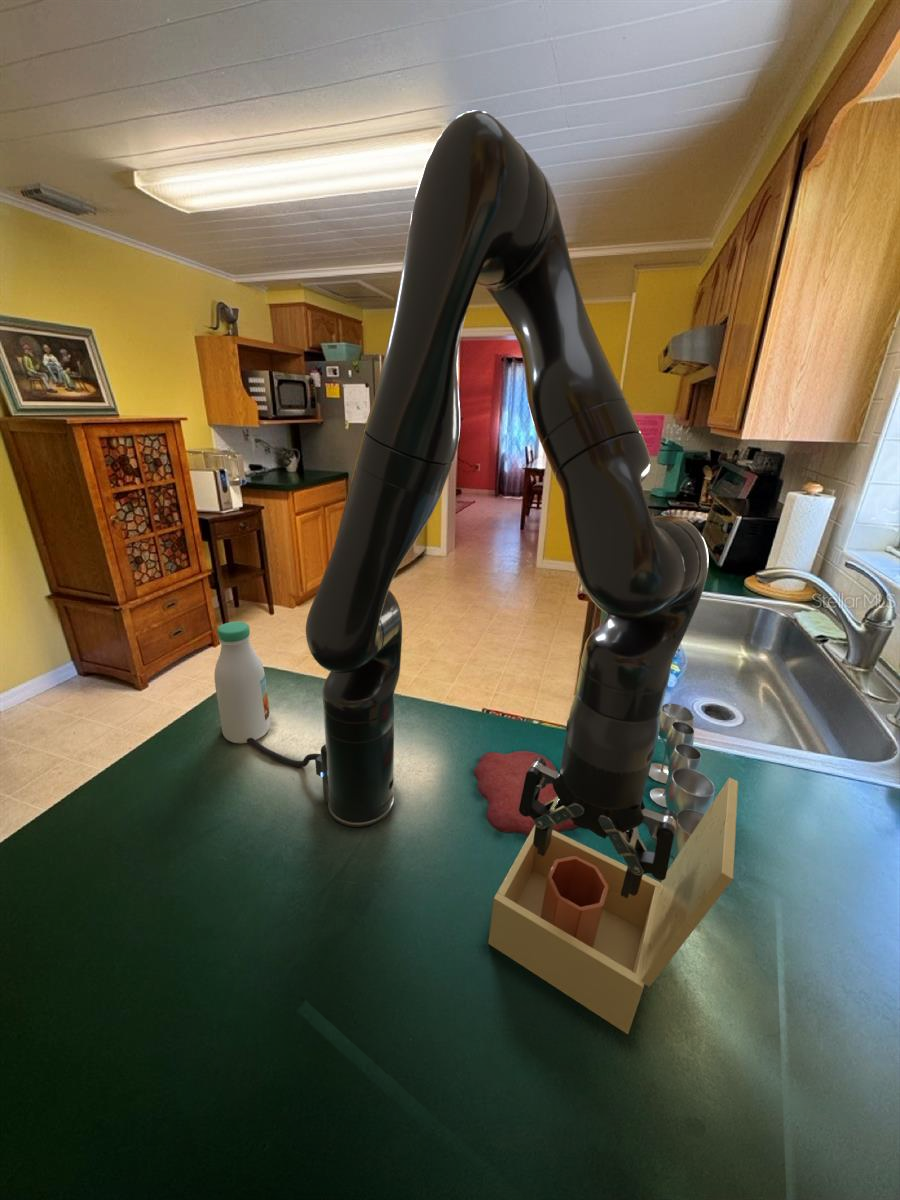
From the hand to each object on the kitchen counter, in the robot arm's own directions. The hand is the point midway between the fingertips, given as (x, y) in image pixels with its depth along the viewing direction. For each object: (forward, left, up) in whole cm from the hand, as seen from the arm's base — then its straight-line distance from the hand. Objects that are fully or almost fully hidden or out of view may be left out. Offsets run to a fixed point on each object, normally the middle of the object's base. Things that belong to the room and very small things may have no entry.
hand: (582, 868), depth 48 cm
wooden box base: (0, 0, -11) cm, 11 cm away
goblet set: (+7, +23, -11) cm, 26 cm away
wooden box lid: (+9, 0, +5) cm, 10 cm away
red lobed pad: (-13, +17, -11) cm, 24 cm away
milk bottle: (-59, +3, -11) cm, 60 cm away
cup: (0, 0, -10) cm, 10 cm away
